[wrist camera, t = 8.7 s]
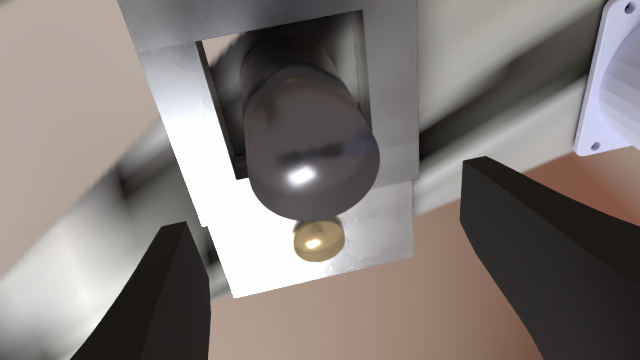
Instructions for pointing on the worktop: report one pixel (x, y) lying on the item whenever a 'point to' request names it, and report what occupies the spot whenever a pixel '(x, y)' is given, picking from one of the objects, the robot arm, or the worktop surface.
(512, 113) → the worktop surface
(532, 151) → the worktop surface
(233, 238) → the lower end link
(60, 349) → the worktop surface
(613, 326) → the robot arm
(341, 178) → the pin
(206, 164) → the upper end link
